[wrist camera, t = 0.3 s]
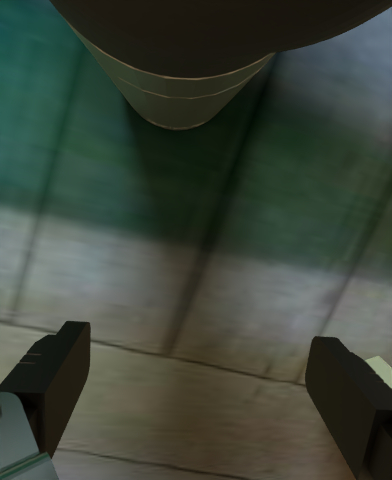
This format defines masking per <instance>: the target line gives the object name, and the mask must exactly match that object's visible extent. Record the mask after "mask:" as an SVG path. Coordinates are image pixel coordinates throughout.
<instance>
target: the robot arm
mask: <svg viewBox="0 0 392 480" xmlns="http://www.w3.org/2000/svg"><path fill="white" fill-rule="evenodd" d="M50 1H51V3H52V4H53V5H54V7H55V8H56V9H57V10H58V12H59V13H60V14H61V16H62V17H63V18H64V19H65V21H66V22H67V23H68V25H69V26H70V27H71V28H72V30H73V31H74V32H75V34H76V35H77V36H78V37H79V39H80V40H81V41H82V42H83V43H84V45H85V46H86V47H87V49H88V50H89V51H90V53H91V54H92V55H93V56H94V58H95V59H96V60H97V62H98V63H99V64H100V66H101V67H102V68H103V69H104V71H105V72H106V73H107V75H108V76H109V77H110V79H111V80H112V81H113V82H114V84H115V85H116V86H117V88H118V89H119V90H120V92H121V93H122V94H123V96H124V97H125V98H126V100H127V101H128V102H129V103H130V105H131V106H132V107H133V109H134V110H135V111H136V112H137V113H138V114H139V115H140V116H141V117H142V118H144V119H145V120H147V121H149V122H150V123H152V124H153V125H156V126H158V127H161V128H164V129H169V130H175V131H177V130H188V129H192V128H195V127H199V126H200V125H202V124H204V123H206V122H208V121H209V120H210V119H212V118H213V117H214V116H215V115H216V114H217V113H218V112H219V111H220V110H221V109H222V108H223V107H224V106H225V105H226V104H227V103H228V102H229V101H230V100H231V99H232V98H233V97H234V96H235V95H236V94H237V93H238V92H239V91H240V90H241V89H242V88H243V87H244V86H245V85H246V84H247V83H248V82H249V81H250V80H251V79H252V78H253V77H254V75H255V74H256V73H257V72H258V71H259V70H260V69H261V68H262V67H263V66H264V65H265V64H266V63H267V62H268V61H269V60H270V59H271V58H272V57H273V55H274V54H275V53H276V52H282V51H287V50H292V49H297V48H301V47H304V46H308V45H312V44H315V43H318V42H321V41H324V40H327V39H330V38H332V37H335V36H338V35H340V34H342V33H345V32H347V31H349V30H351V29H353V28H355V27H357V26H359V25H361V24H363V23H364V22H366V21H368V20H370V19H371V18H373V17H375V16H377V15H378V14H380V13H382V12H384V11H385V10H387V9H389V8H390V7H392V0H50ZM90 332H91V328H90V323H89V322H78V321H66V322H65V324H64V325H63V326H62V328H61V329H60V330H59V332H58V333H57V334H56V335H47V336H45V337H43V338H42V339H40V340H38V341H37V342H35V343H34V344H33V346H32V347H31V348H30V349H29V350H28V352H27V354H26V355H24V356H23V358H22V359H21V360H20V362H19V363H18V364H17V365H16V366H15V367H14V368H13V370H12V371H11V372H10V373H9V375H8V376H7V377H6V378H5V379H4V381H3V382H2V383H1V384H0V480H59V478H58V476H57V473H56V471H55V468H54V466H53V463H52V461H51V459H52V457H53V455H54V453H55V450H56V448H57V446H58V444H59V441H60V439H61V437H62V435H63V432H64V430H65V428H66V426H67V423H68V421H69V419H70V417H71V414H72V412H73V410H74V408H75V405H76V403H77V401H78V399H79V396H80V394H81V392H82V390H83V387H84V385H85V383H86V380H87V377H88V373H89V367H90ZM305 383H306V388H307V391H308V393H309V395H310V397H311V399H312V401H313V402H314V404H315V406H316V408H317V410H318V411H319V413H320V415H321V417H322V419H323V420H324V422H325V424H326V426H327V428H328V429H329V431H330V433H331V435H332V437H333V438H334V440H335V442H336V444H337V446H338V447H339V449H340V451H341V453H342V455H343V456H344V458H345V460H346V462H347V464H348V465H349V467H350V469H351V471H352V473H353V474H354V476H355V478H356V480H392V389H391V388H390V387H389V385H388V384H387V383H384V380H383V379H382V378H381V377H380V376H379V375H378V374H376V372H375V371H374V370H373V368H372V367H371V366H370V365H369V364H368V363H367V362H366V361H364V360H363V359H361V358H360V357H358V356H357V355H355V354H354V353H352V352H350V351H349V350H348V349H347V348H346V347H345V346H344V345H343V344H342V342H341V341H340V340H339V339H338V338H335V337H319V336H315V337H314V338H313V340H312V343H311V347H310V353H309V358H308V363H307V368H306V373H305Z"/></svg>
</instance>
